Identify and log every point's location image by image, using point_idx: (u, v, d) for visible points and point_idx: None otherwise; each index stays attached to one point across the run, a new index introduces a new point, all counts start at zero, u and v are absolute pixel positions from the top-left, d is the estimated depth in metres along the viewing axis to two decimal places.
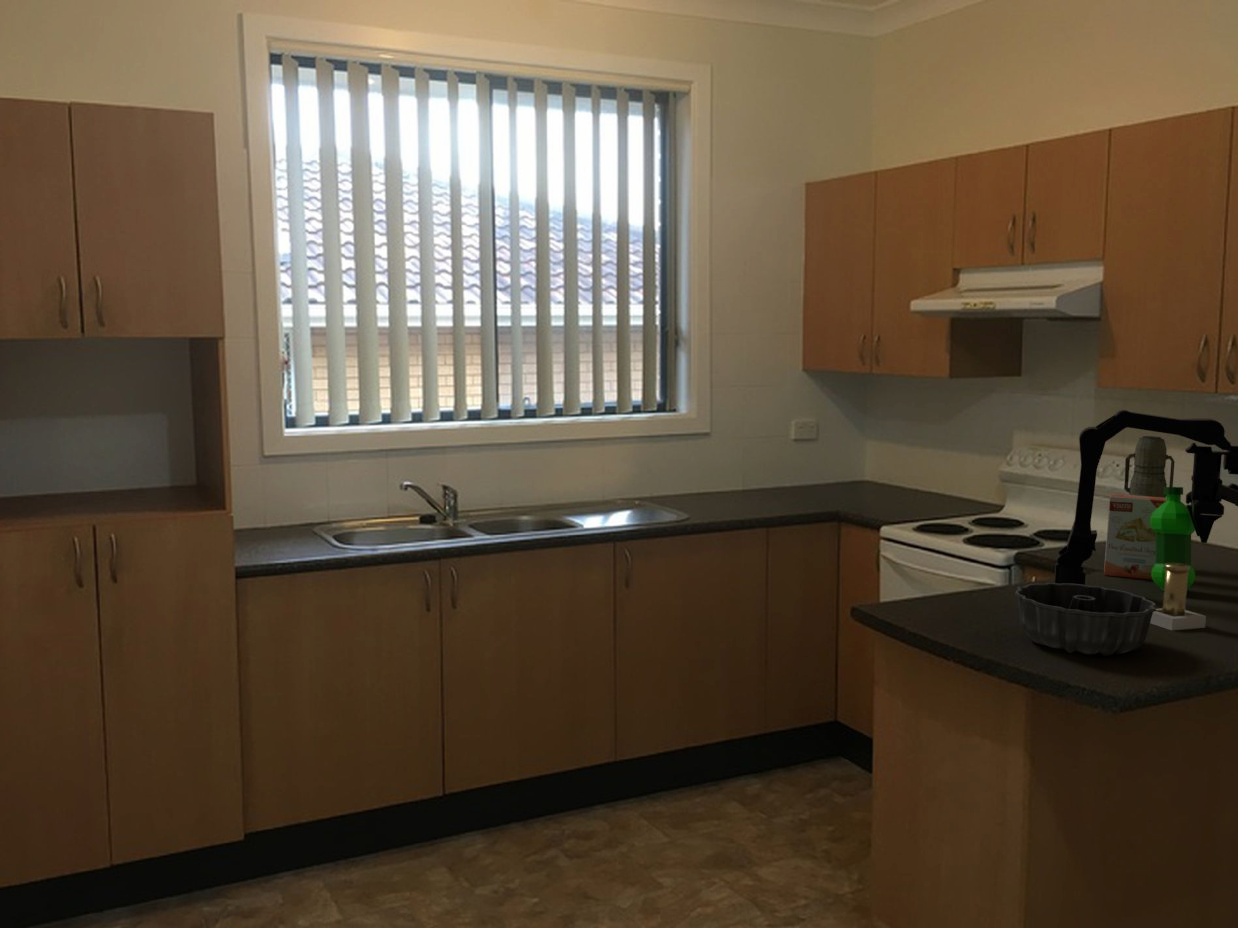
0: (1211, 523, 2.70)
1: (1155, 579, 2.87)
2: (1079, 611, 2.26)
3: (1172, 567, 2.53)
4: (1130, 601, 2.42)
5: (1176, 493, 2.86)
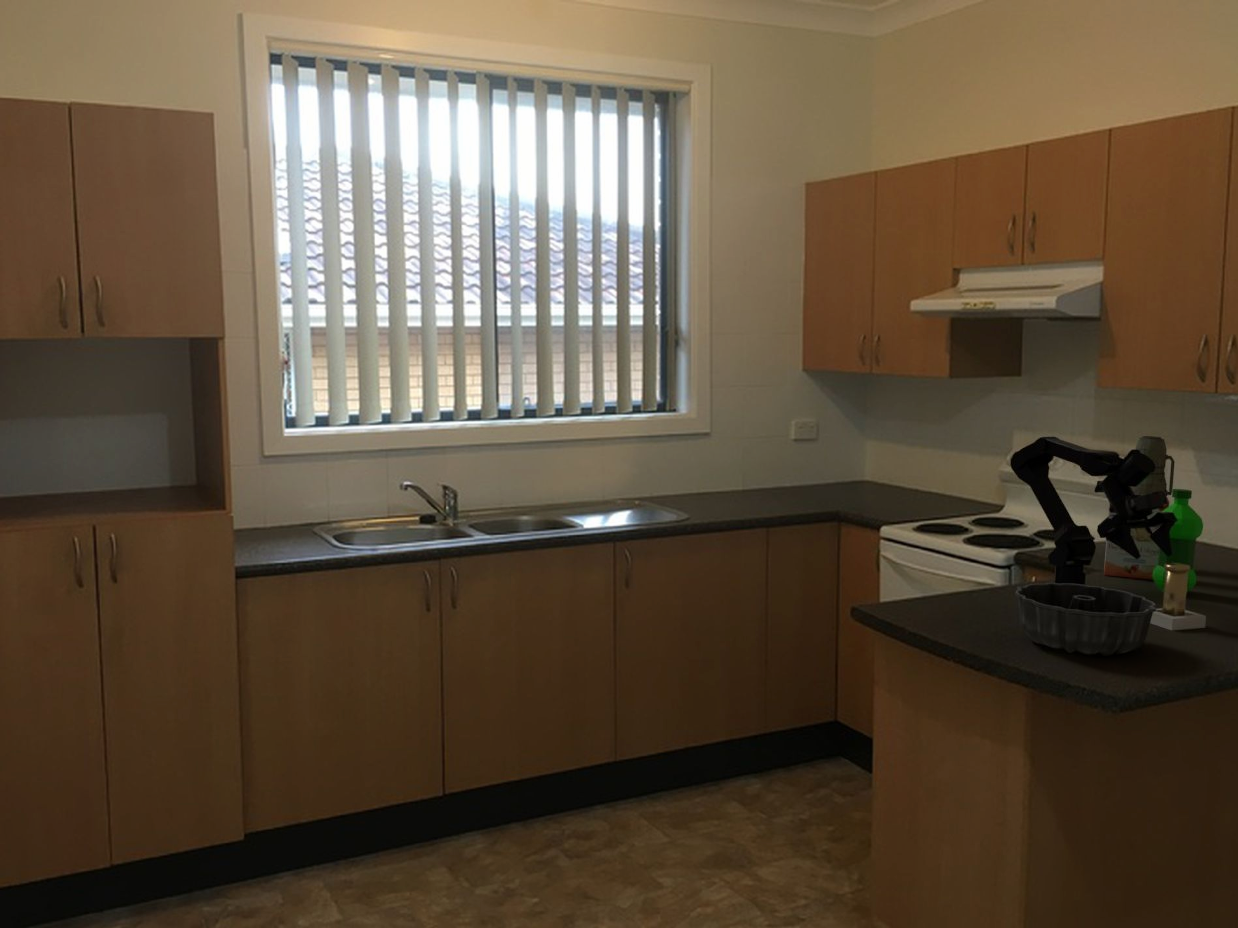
0: (1126, 537, 2.62)
1: (1156, 581, 2.86)
2: (1079, 611, 2.26)
3: (1172, 567, 2.53)
4: (1130, 601, 2.42)
5: (1184, 497, 2.83)
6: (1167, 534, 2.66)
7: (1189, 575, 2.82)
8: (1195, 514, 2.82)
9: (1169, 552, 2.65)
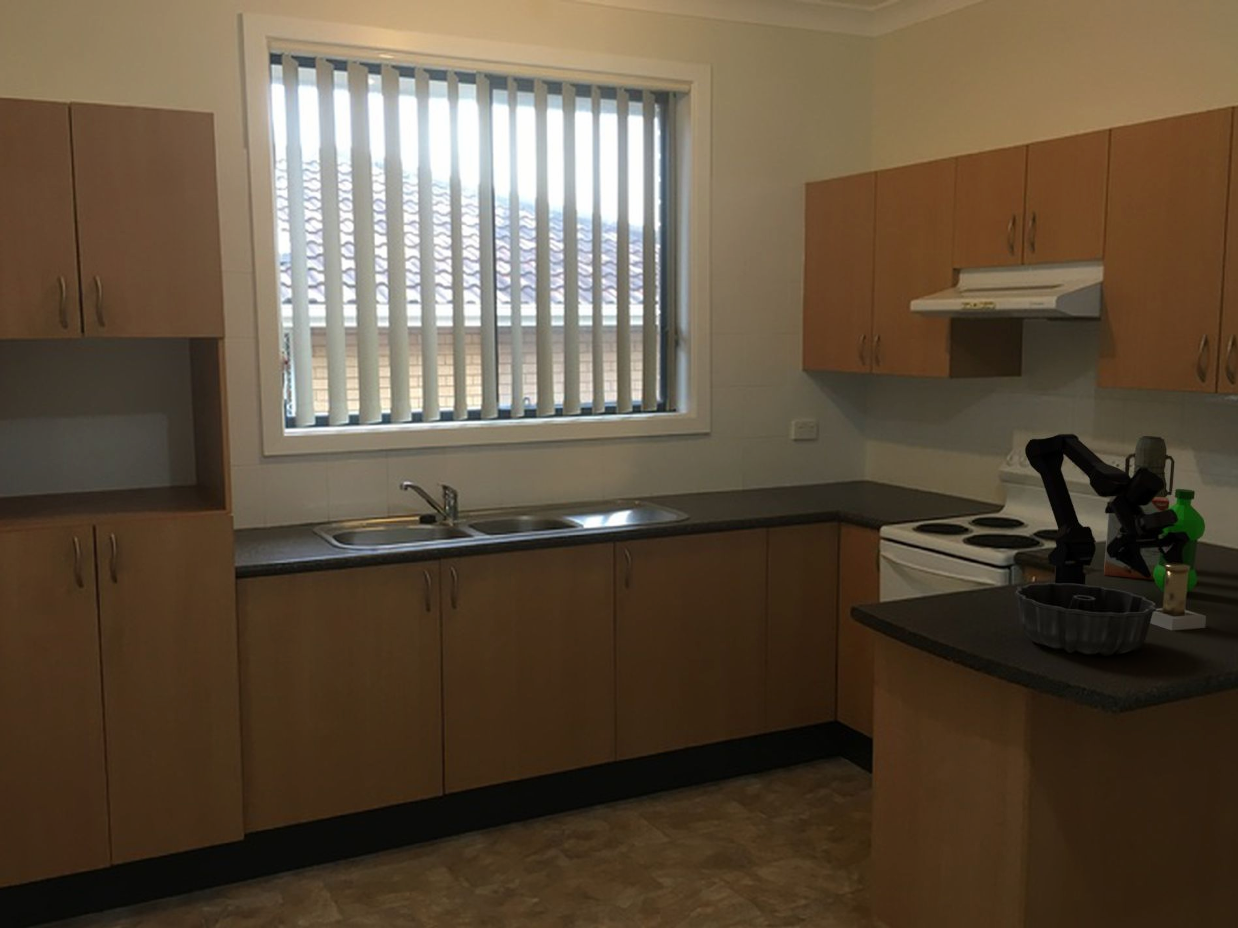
0: (1135, 557, 2.58)
1: (1156, 581, 2.86)
2: (1079, 611, 2.26)
3: (1172, 567, 2.53)
4: (1130, 601, 2.42)
5: (1187, 498, 2.82)
6: (1179, 553, 2.61)
7: (1189, 576, 2.82)
8: (1197, 515, 2.81)
9: None
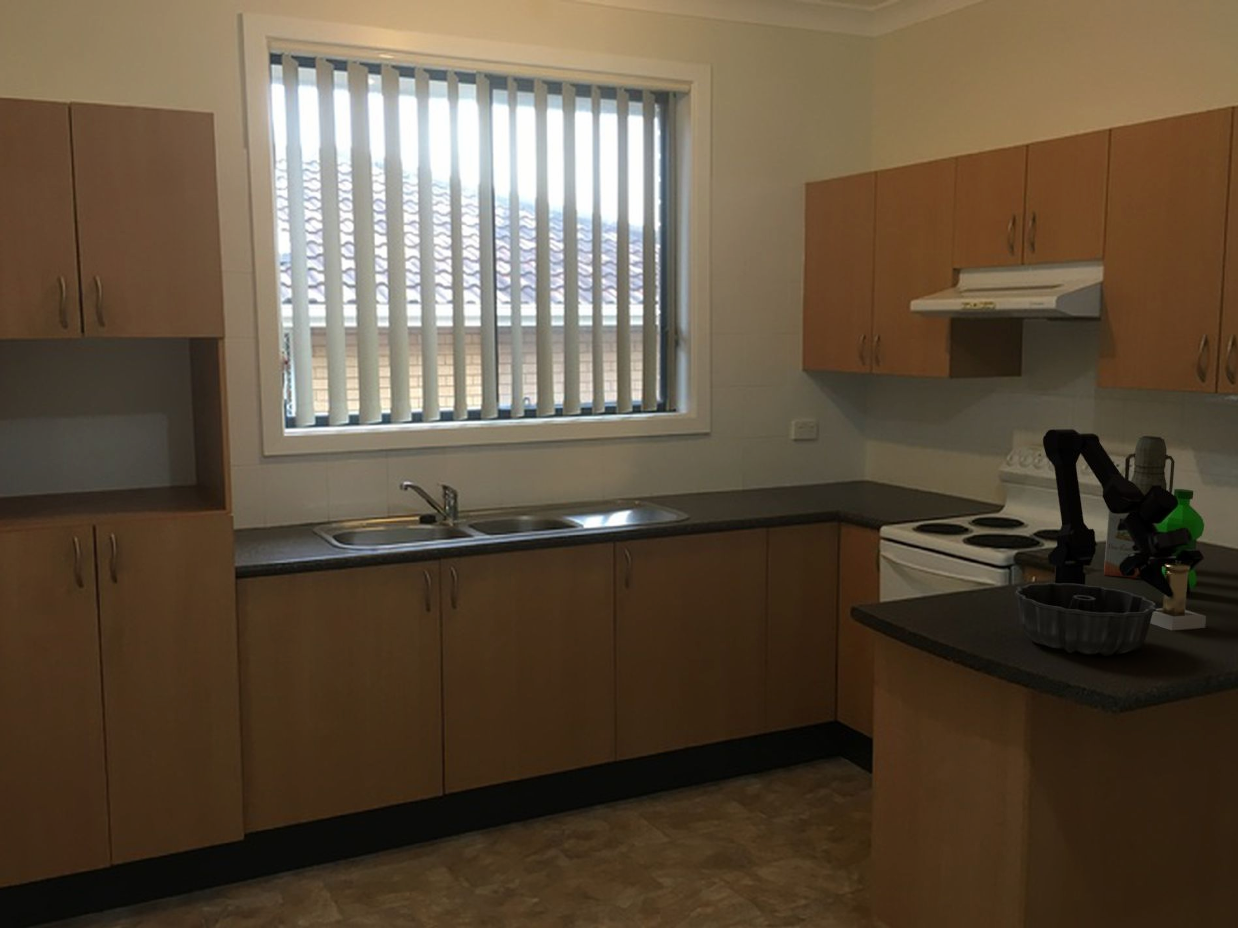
0: (1157, 575, 2.55)
1: None
2: (1079, 611, 2.26)
3: (1172, 567, 2.53)
4: (1130, 601, 2.42)
5: (1185, 498, 2.82)
6: None
7: (1189, 575, 2.82)
8: (1196, 515, 2.82)
9: (1187, 591, 2.55)
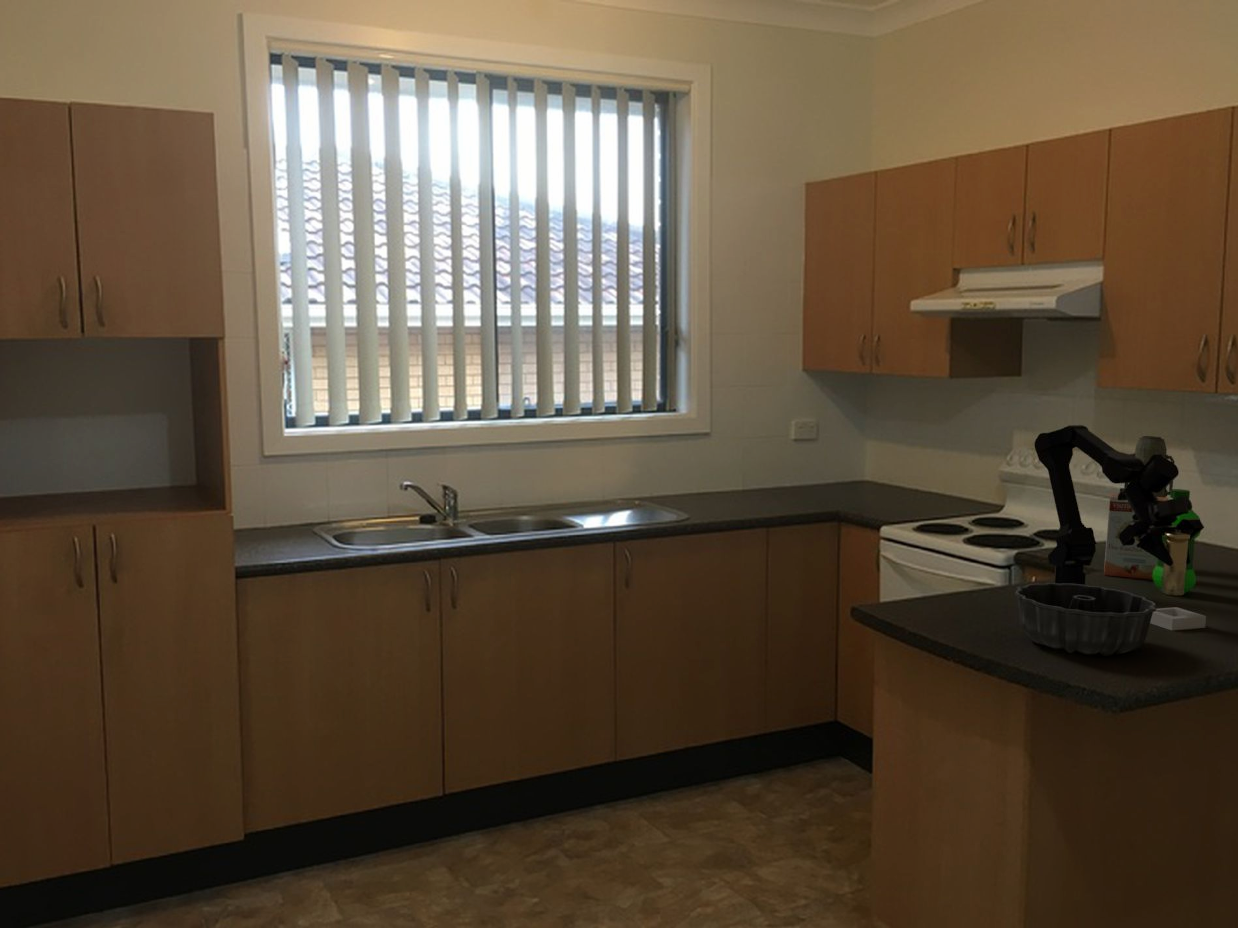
0: (1157, 544, 2.55)
1: (1155, 582, 2.87)
2: (1079, 611, 2.26)
3: (1172, 536, 2.53)
4: (1130, 601, 2.42)
5: None
6: None
7: (1188, 575, 2.82)
8: (1193, 514, 2.82)
9: (1187, 560, 2.55)
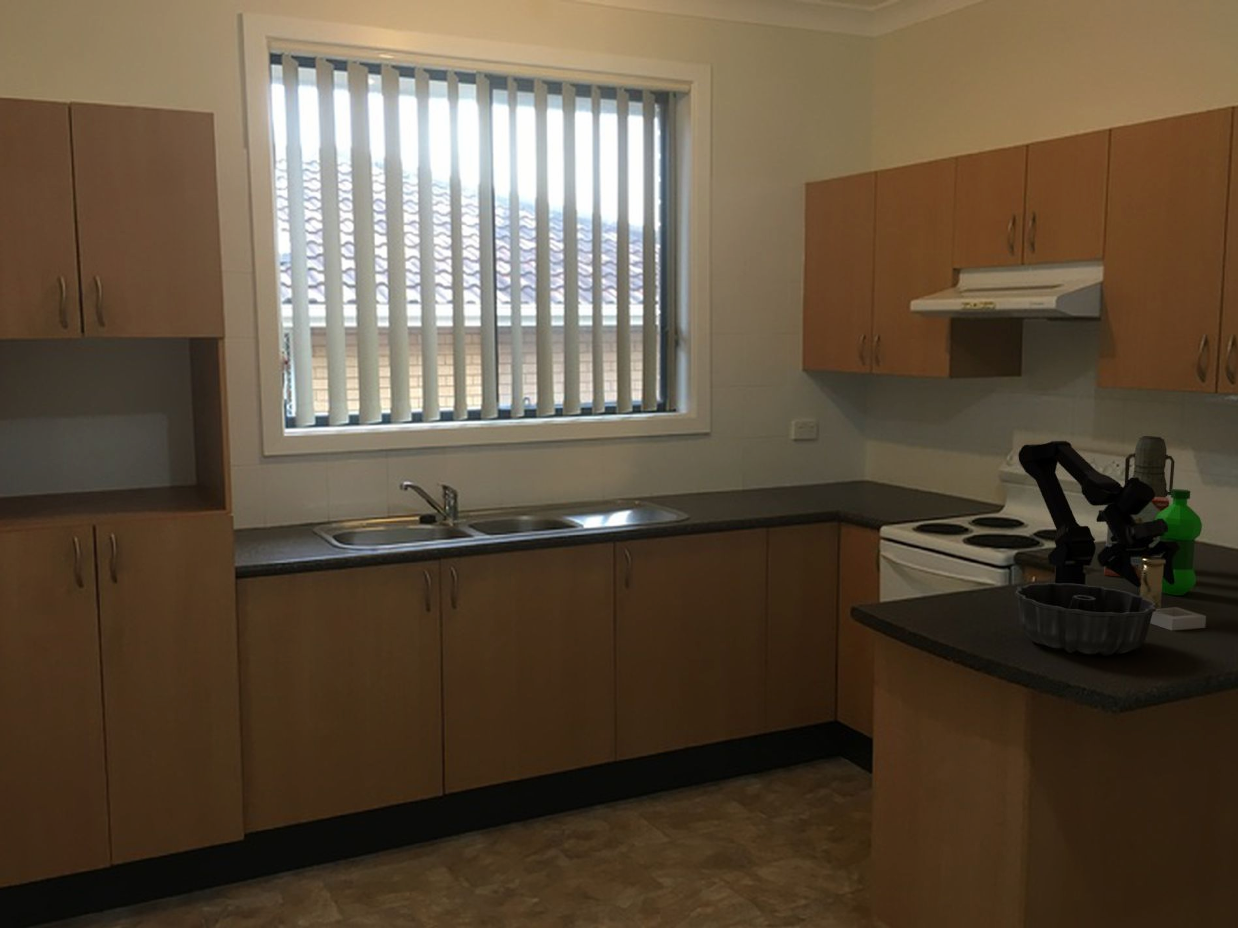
0: (1126, 566, 2.61)
1: None
2: (1079, 611, 2.26)
3: (1148, 561, 2.60)
4: (1130, 601, 2.42)
5: (1182, 498, 2.82)
6: (1169, 563, 2.64)
7: (1188, 575, 2.82)
8: (1194, 514, 2.82)
9: (1172, 580, 2.62)
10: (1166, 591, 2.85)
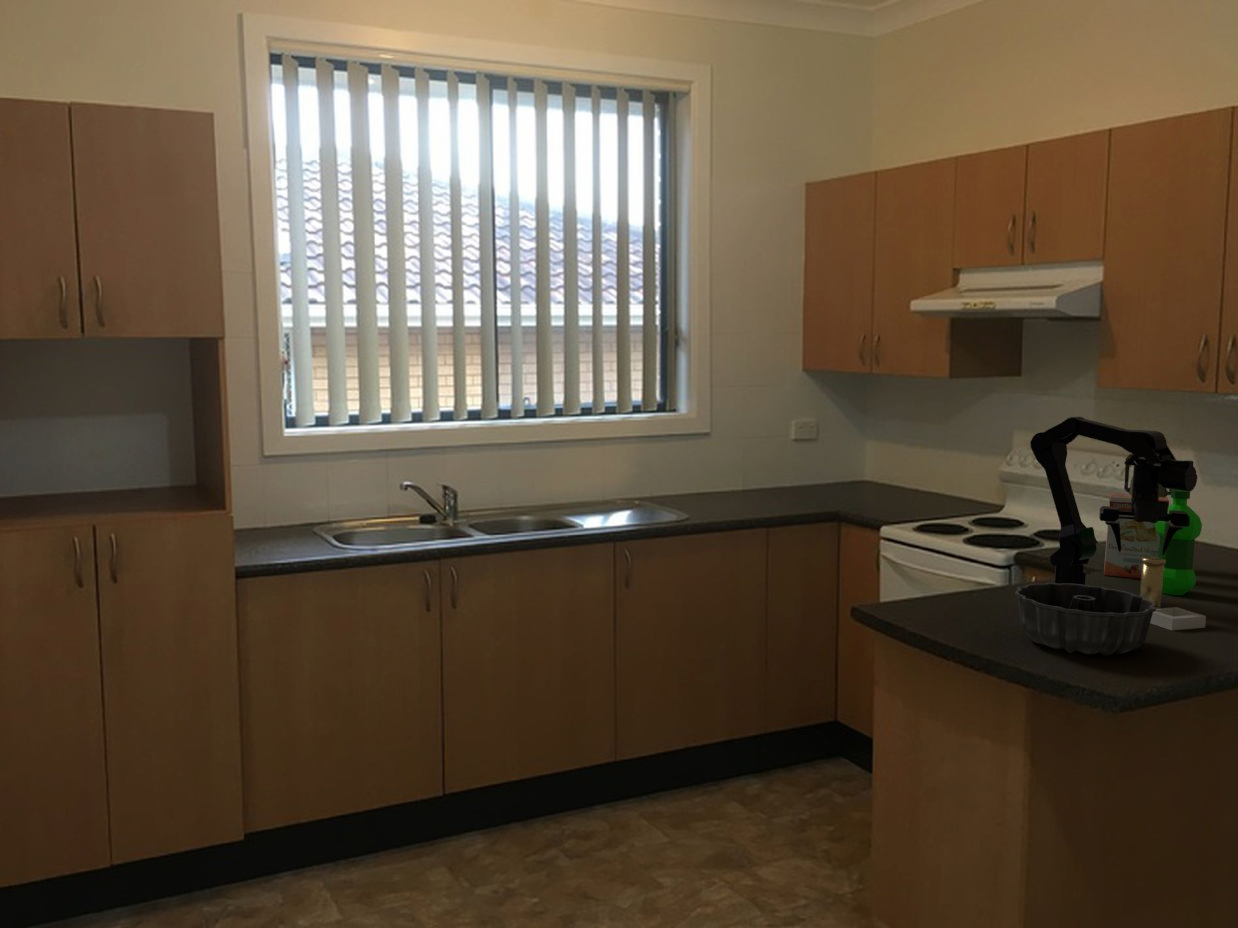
0: None
1: None
2: (1079, 611, 2.26)
3: (1148, 560, 2.60)
4: (1130, 601, 2.42)
5: (1182, 498, 2.82)
6: (1168, 536, 2.69)
7: (1188, 575, 2.82)
8: (1193, 514, 2.82)
9: (1162, 552, 2.71)
10: (1166, 591, 2.85)
